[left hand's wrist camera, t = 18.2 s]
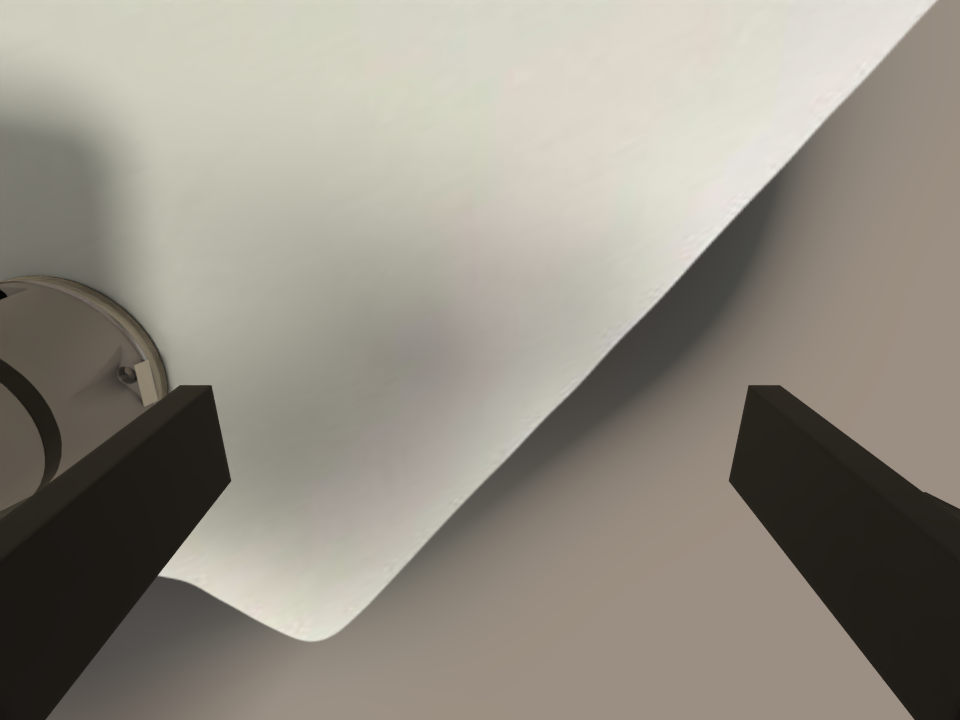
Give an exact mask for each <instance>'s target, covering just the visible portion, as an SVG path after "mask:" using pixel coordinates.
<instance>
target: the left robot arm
mask: <svg viewBox="0 0 960 720" xmlns="http://www.w3.org/2000/svg"><path fill="white" fill-rule="evenodd" d="M230 482H231V478H230V473H229V468H228V463H227V458H226V454H225V449H224V444H223V439H222V434H221V429H220V425H219V420H218V415H217V410H216V405H215V400H214V396H213V391H212V386H211V385H180V386H179V387H177V388H176V389H174V390H173V391H172V392H170V393H169V394H168V395H167V381H166V376H165V371H164V368H163V365H162V362H161V359H160V357H159V355H158V352H157V351H156V349H155V347H154V345H153V343H152V342H151V340H150V339H149V337H148V336H147V334H146V333H145V332H144V331H143V329H142V328H141V327H140V326H139V324H138V323H137V322H136V321H135V320H134V319H133V318H132V317H131V316H130V315H129V314H128V313H127V312H125V311H124V310H123V309H122V308H121V307H119V306H118V305H117V304H116V303H114V302H113V301H111V300H110V299H108V298H107V297H105V296H103V295H102V294H100V293H98V292H96V291H94V290H92V289H90V288H88V287H86V286H83V285H80V284H78V283H75V282H72V281H68V280H65V279H60V278H55V277H47V276H25V277H19V278H13V279H9V280H5V281H1V282H0V720H45V719H46V718H47V717H48V716H49V714H50V713H51V712H52V710H53V709H54V708H55V707H56V705H57V704H58V703H59V702H60V700H61V699H62V698H63V696H64V695H65V694H66V693H67V691H68V690H69V689H70V687H71V686H72V685H73V684H74V682H75V681H76V680H77V678H78V677H79V676H80V675H81V673H82V672H83V671H84V669H85V668H86V667H87V666H88V664H89V663H90V662H91V660H92V659H93V658H94V657H95V655H96V654H97V653H98V651H99V650H100V649H101V647H102V646H103V645H104V644H105V642H106V641H107V640H108V638H109V637H110V636H111V635H112V633H113V632H114V631H115V630H116V628H117V627H118V626H119V624H120V623H121V622H122V621H123V619H124V618H125V617H126V615H127V614H128V613H129V612H130V610H131V609H132V608H133V606H134V605H135V604H136V602H137V601H138V600H139V599H140V597H141V596H142V595H143V594H144V592H145V591H146V590H147V588H148V587H149V586H150V585H151V583H152V582H153V581H154V579H155V578H156V577H157V576H158V574H159V573H160V572H161V570H162V569H163V568H164V567H165V565H166V564H167V563H168V561H169V560H170V559H171V558H172V556H173V555H174V554H175V552H176V551H177V550H178V549H179V547H180V546H181V545H182V543H183V542H184V541H185V540H186V538H187V537H188V536H189V534H190V533H191V532H192V531H193V529H194V528H195V527H196V526H197V524H198V523H199V522H200V520H201V519H202V518H203V517H204V515H205V514H206V513H207V511H208V510H209V509H210V508H211V506H212V505H213V504H214V502H215V501H216V500H217V499H218V497H219V496H220V495H221V493H222V492H223V491H224V490H225V488H226V487H227V486H228V484H229V483H230ZM729 482H730V483H731V484H732V486H733V487H734V488H735V490H736V491H737V492H738V493H739V495H740V496H741V497H742V499H743V500H744V501H745V502H746V504H747V505H748V506H749V507H750V509H751V510H752V511H753V513H754V514H755V515H756V517H757V518H758V519H759V520H760V522H761V523H762V524H763V526H764V527H765V528H766V529H767V531H768V532H769V533H770V534H771V536H772V537H773V538H774V540H775V541H776V542H777V543H778V545H779V546H780V547H781V549H782V550H783V551H784V552H785V554H786V555H787V556H788V558H789V559H790V560H791V561H792V563H793V564H794V565H795V567H796V568H797V569H798V570H799V572H800V573H801V574H802V576H803V577H804V578H805V579H806V581H807V582H808V583H809V585H810V586H811V587H812V588H813V590H814V591H815V592H816V594H817V595H818V596H819V597H820V599H821V600H822V601H823V603H824V604H825V605H826V606H827V608H828V609H829V610H830V612H831V613H832V614H833V615H834V617H835V618H836V619H837V621H838V622H839V623H840V624H841V626H842V627H843V628H844V630H845V631H846V632H847V633H848V635H849V636H850V637H851V639H852V640H853V641H854V642H855V644H856V645H857V646H858V648H859V649H860V650H861V651H862V653H863V654H864V655H865V657H866V658H867V659H868V660H869V662H870V663H871V664H872V666H873V667H874V668H875V669H876V671H877V672H878V673H879V674H880V676H881V677H882V678H883V680H884V681H885V682H886V684H887V685H888V686H889V687H890V689H891V690H892V691H893V693H894V694H895V695H896V696H897V698H898V699H899V700H900V702H901V703H902V704H903V705H904V707H905V708H906V709H907V710H908V712H909V713H910V714H911V716H912V717H913V718H914V720H960V509H959V508H957V507H955V506H952V505H950V504H948V503H946V502H944V501H942V500H940V499H938V498H936V497H934V496H932V495H930V494H928V493H926V492H922V491H921V490H919V489H918V488H917V487H915V486H914V485H913V484H911V483H910V482H909V481H907V480H906V479H905V478H903V477H902V476H901V475H899V474H898V473H897V472H895V471H894V470H893V469H891V468H890V467H889V466H887V465H886V464H885V463H883V462H882V461H880V460H879V459H878V458H876V457H875V456H874V455H873V454H871V453H870V452H868V451H867V450H866V449H864V448H863V447H862V446H860V445H859V444H858V443H856V442H855V441H854V440H852V439H851V438H850V437H848V436H847V435H846V434H844V433H843V432H842V431H840V430H839V429H838V428H836V427H835V426H834V425H832V424H831V423H830V422H828V421H827V420H826V419H824V418H823V417H822V416H820V415H819V414H818V413H816V412H815V411H814V410H812V409H811V408H810V407H808V406H807V405H806V404H804V403H803V402H802V401H800V400H799V399H798V398H796V397H795V396H794V395H792V394H791V393H790V392H788V391H787V390H786V389H784V388H783V387H781V386H780V385H749V386H748V391H747V396H746V401H745V405H744V410H743V415H742V420H741V425H740V430H739V434H738V439H737V444H736V449H735V454H734V458H733V463H732V468H731V473H730V478H729Z"/></svg>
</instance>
